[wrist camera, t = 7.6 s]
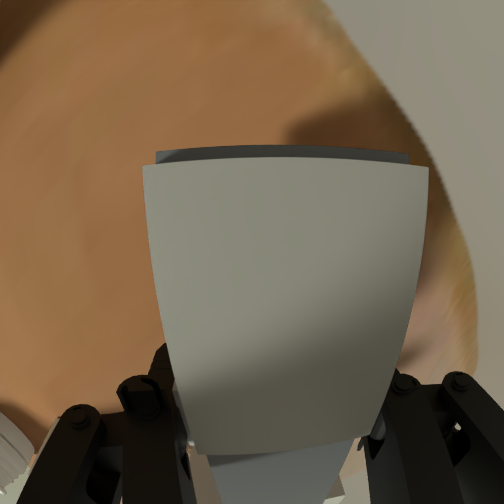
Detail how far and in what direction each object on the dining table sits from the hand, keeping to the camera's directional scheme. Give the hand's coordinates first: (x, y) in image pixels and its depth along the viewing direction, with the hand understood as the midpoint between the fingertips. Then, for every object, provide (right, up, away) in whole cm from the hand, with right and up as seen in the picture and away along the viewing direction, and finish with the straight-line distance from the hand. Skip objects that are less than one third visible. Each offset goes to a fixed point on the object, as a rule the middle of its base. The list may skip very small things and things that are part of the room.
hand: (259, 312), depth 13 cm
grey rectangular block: (0, 0, 0) cm, 0 cm away
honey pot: (-41, -26, +10) cm, 49 cm away
